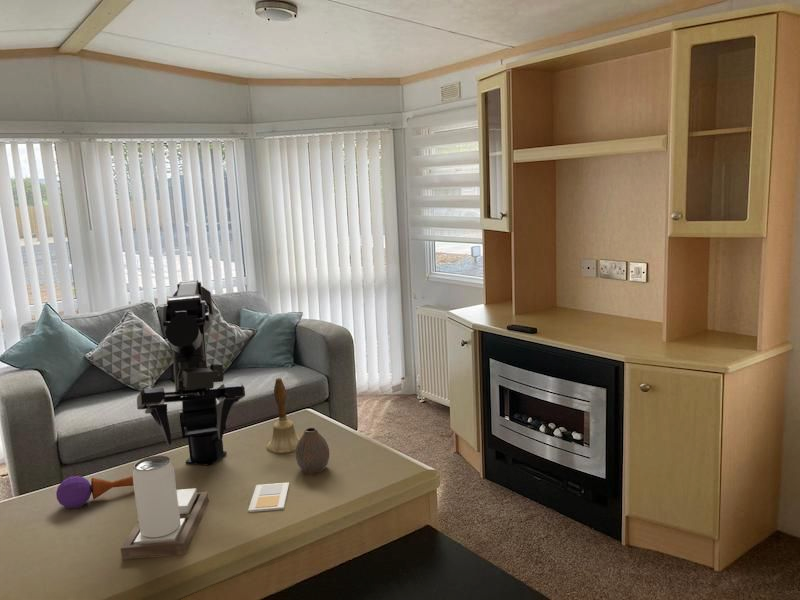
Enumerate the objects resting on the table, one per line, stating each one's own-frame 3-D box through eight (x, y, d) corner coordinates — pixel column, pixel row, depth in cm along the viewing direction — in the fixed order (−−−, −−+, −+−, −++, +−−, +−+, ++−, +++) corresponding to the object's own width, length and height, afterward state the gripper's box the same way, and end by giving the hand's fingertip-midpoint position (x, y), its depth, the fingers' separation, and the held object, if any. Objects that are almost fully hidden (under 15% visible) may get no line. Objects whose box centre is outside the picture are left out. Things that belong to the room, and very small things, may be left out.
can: (188, 526, 110) (179, 460, 108) (152, 543, 105) (142, 474, 103) (168, 515, 114) (160, 451, 112) (133, 531, 110) (123, 464, 108)
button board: (155, 505, 123) (154, 495, 122) (209, 501, 123) (207, 491, 123) (122, 559, 105) (120, 548, 105) (184, 554, 106) (183, 543, 106)
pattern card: (256, 486, 128) (256, 484, 128) (289, 484, 129) (289, 481, 129) (248, 512, 118) (248, 509, 118) (283, 509, 119) (283, 506, 119)
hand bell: (304, 450, 145) (298, 381, 142) (266, 455, 143) (260, 386, 140) (302, 436, 153) (296, 371, 150) (266, 441, 151) (259, 375, 148)
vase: (328, 476, 131) (325, 435, 130) (294, 477, 131) (290, 436, 130) (332, 461, 138) (329, 422, 136) (300, 463, 138) (296, 424, 137)
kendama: (170, 469, 130) (57, 490, 120) (169, 494, 132) (58, 518, 121) (163, 454, 135) (54, 473, 124) (163, 479, 136) (56, 500, 126)
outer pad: (147, 529, 113) (146, 521, 113) (186, 526, 113) (185, 518, 113) (134, 550, 107) (133, 542, 106) (175, 546, 107) (174, 538, 107)
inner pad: (161, 498, 121) (160, 491, 121) (197, 495, 122) (196, 488, 121) (150, 516, 115) (149, 508, 115) (188, 513, 115) (187, 505, 115)
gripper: (144, 350, 113) (149, 441, 109) (249, 346, 122) (258, 430, 118) (134, 366, 122) (139, 450, 118) (233, 361, 131) (240, 438, 127)
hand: (195, 441), depth 120 cm, fingers open, 9 cm apart
